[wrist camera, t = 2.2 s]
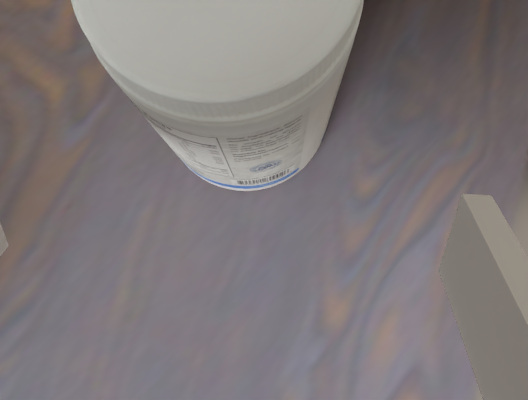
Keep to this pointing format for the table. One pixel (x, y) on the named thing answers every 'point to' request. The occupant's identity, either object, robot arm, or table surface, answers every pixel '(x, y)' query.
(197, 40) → the supplement tub
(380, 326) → the table surface
